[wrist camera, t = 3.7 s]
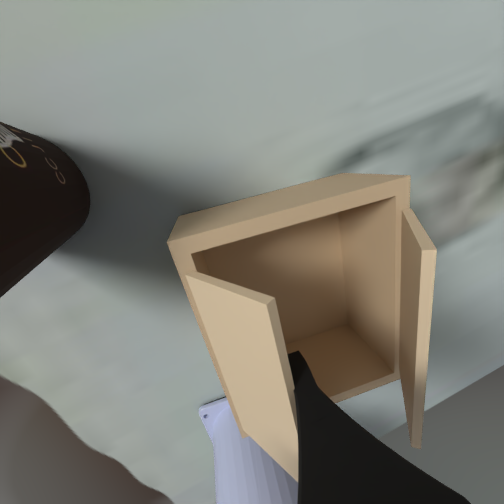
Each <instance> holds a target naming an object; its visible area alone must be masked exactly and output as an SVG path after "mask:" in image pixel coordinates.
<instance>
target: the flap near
mask: <svg viewBox="0 0 504 504" xmlns="http://www.w3.org/2000/svg"><path fill="white" fill-rule="evenodd" d="M185 276H186V278H187V281H188V284H189V286H190V289H191V292H192V294H193V297H194V300H195V302H196V305H197V308H198V310H199V313H200V316H201V318H202V321H203V324H204V326H205V329H206V332H207V334H208V337H209V340H210V342H211V345H212V348H213V350H214V353H215V356H216V358H217V361H218V364H219V366H220V369H221V372H222V374H223V377H224V380H225V382H226V385H227V388H228V390H229V393H230V396H231V398H232V401H233V404H234V406H235V409H236V412H237V414H238V417H239V420H240V422H241V425H242V428H243V430H244V431H245V432H246V433H247V434H248V435H249V436H250V437H251V438H252V439H253V440H254V441H255V442H256V443H257V444H258V445H259V446H260V447H261V448H263V449H264V450H265V451H266V452H267V453H268V454H269V455H270V456H271V457H272V458H273V459H274V460H275V461H276V462H277V463H278V464H279V465H280V466H281V467H282V468H283V469H284V470H285V471H286V472H287V473H288V474H290V475H291V476H292V477H293V478H294V479H295V480H296V481H297V482H298V428H297V414H296V403H295V395H294V391H293V390H294V389H295V387H294V382H293V378H292V373H291V369H290V364H289V360H288V355H287V351H286V346H285V342H284V337H283V333H282V328H281V323H280V319H279V314H278V310H277V305H276V301H275V297H272V296H269V295H266V294H263V293H260V292H256V291H253V290H250V289H247V288H244V287H241V286H238V285H235V284H232V283H229V282H226V281H223V280H220V279H217V278H214V277H211V276H208V275H205V274H202V273H199V272H196V271H191V272H189V273H187V274H185Z"/></svg>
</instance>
